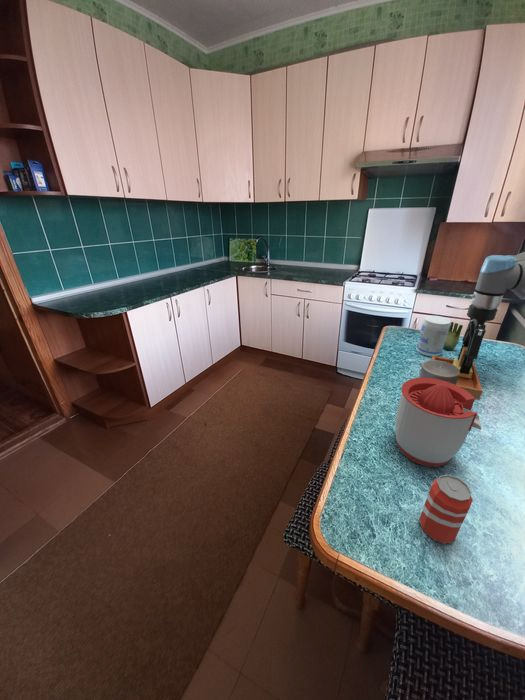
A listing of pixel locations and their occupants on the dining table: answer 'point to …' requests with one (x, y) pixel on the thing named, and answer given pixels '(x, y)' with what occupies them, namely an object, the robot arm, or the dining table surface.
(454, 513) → the beverage can
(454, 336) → the fennel bulb
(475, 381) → the orange brown tray
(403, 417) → the citrus juicer
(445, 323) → the supplement tub
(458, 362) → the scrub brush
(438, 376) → the pillar candle
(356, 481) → the dining table surface
